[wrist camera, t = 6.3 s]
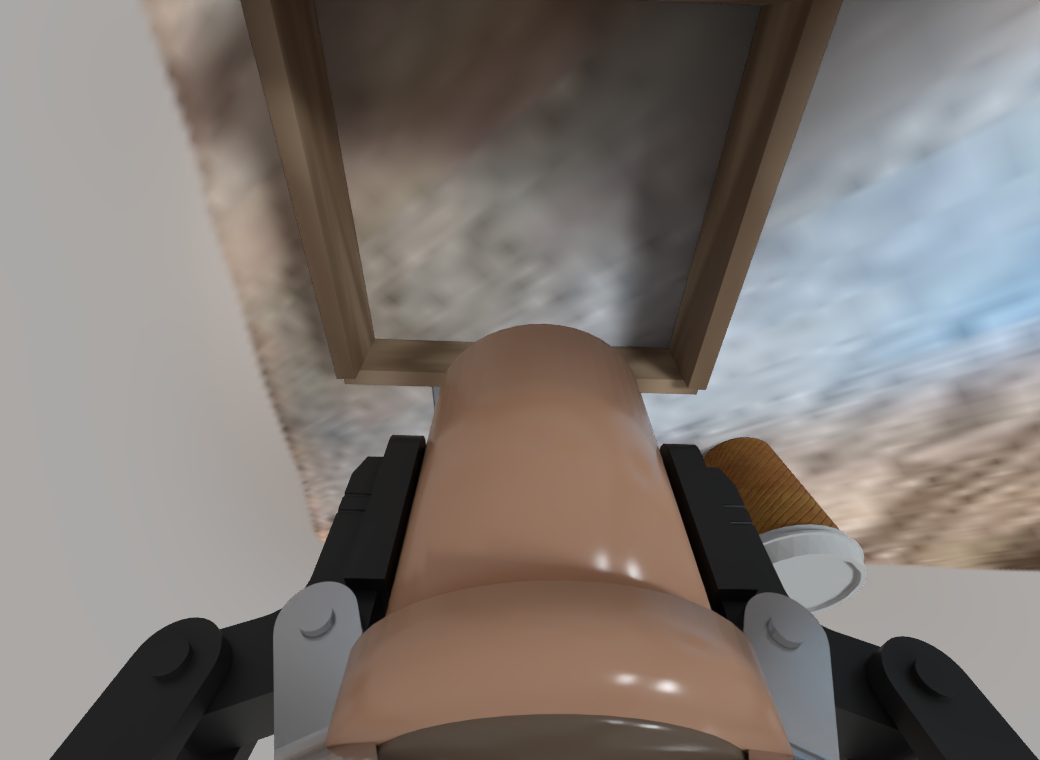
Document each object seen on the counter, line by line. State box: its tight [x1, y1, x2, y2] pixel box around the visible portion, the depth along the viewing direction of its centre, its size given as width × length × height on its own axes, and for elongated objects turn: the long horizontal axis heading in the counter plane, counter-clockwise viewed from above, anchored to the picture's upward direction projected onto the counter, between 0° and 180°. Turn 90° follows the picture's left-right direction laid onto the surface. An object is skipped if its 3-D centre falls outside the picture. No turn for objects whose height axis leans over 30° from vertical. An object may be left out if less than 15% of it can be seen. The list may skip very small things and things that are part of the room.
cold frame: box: [241, 0, 843, 394], centre depth 24 cm, size 24×23×11 cm
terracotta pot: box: [325, 324, 794, 760], centre depth 9 cm, size 6×6×11 cm
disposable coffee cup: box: [704, 438, 867, 614], centre depth 37 cm, size 10×10×12 cm
